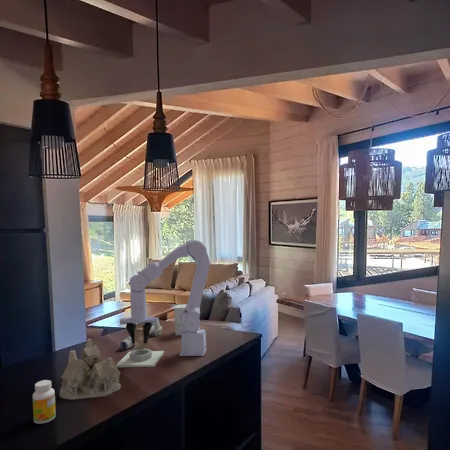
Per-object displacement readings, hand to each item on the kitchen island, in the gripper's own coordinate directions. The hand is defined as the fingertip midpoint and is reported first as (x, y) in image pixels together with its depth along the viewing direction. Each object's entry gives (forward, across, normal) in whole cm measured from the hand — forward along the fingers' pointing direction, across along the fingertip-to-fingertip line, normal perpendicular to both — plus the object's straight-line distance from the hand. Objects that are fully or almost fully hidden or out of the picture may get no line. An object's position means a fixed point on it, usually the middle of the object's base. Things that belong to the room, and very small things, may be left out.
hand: (140, 342), depth 142 cm
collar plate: (+6, 0, 0) cm, 6 cm away
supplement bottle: (+7, -13, -42) cm, 44 cm away
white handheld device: (+7, -6, +23) cm, 25 cm away
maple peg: (+2, 0, 0) cm, 2 cm away
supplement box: (+7, +10, +33) cm, 35 cm away
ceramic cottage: (+7, -8, -25) cm, 27 cm away
